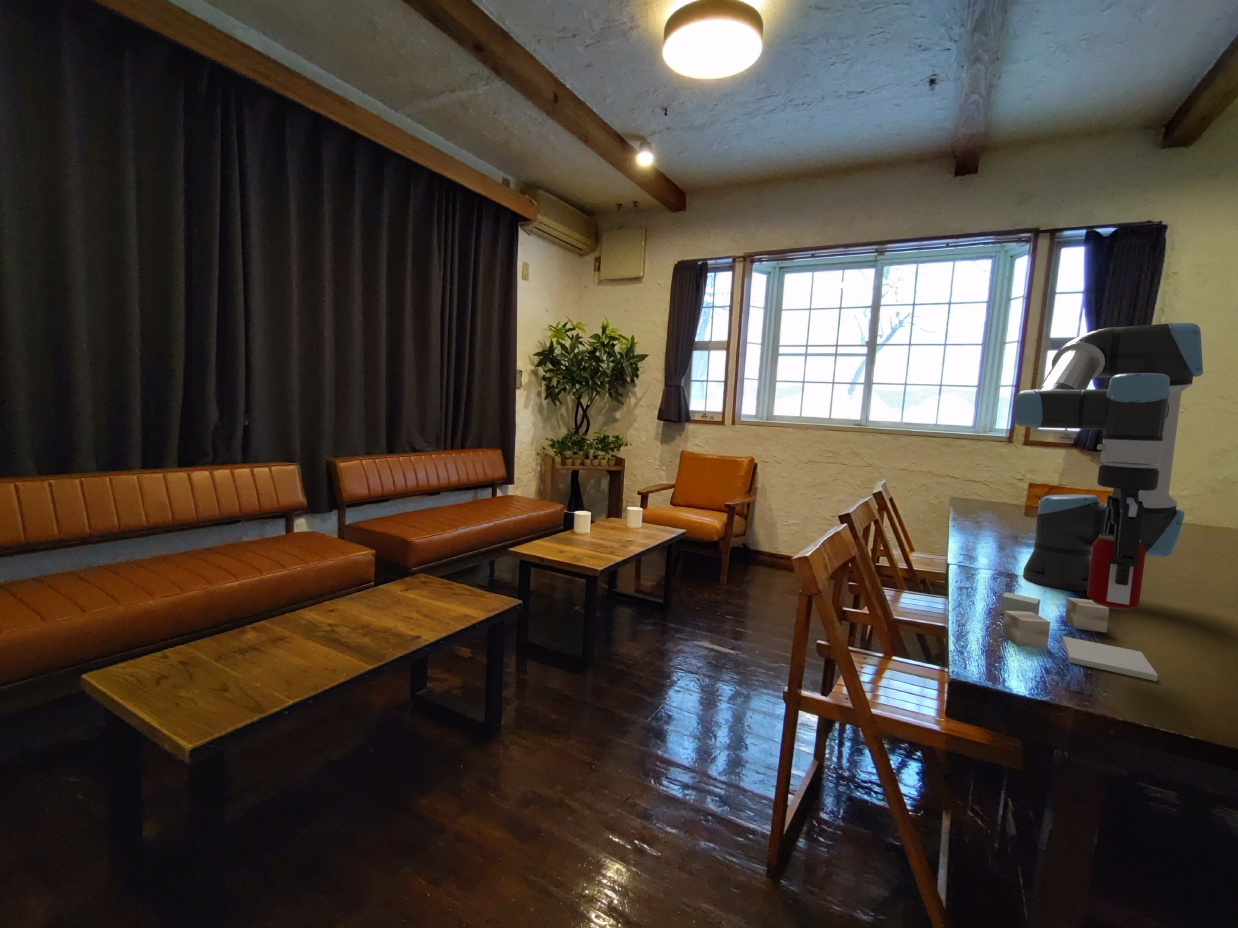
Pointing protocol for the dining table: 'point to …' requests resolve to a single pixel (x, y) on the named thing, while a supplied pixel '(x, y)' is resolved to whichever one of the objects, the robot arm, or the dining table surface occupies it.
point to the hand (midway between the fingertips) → (1113, 596)
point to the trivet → (1108, 658)
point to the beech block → (1086, 615)
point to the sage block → (1019, 603)
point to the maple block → (1026, 629)
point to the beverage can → (1101, 572)
